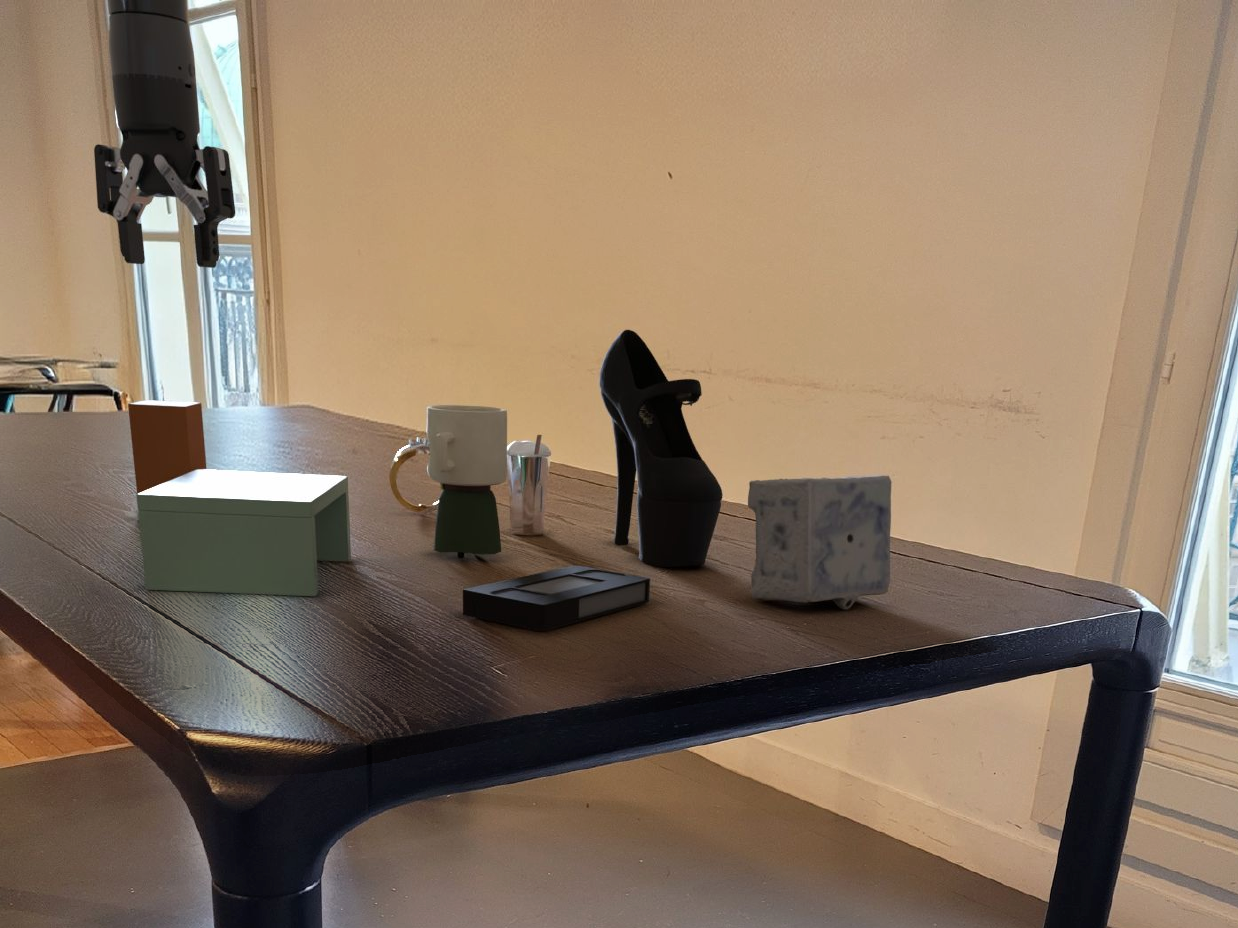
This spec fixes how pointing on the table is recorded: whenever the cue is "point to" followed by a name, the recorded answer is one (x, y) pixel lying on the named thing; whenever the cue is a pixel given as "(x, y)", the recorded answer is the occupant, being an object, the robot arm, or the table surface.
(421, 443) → the ring
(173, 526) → the shoe shelf
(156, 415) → the ankle boot
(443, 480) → the character mug
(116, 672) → the table surface
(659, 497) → the high-heeled shoe
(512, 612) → the vhs tape
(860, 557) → the incense holder
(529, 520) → the milkshake
